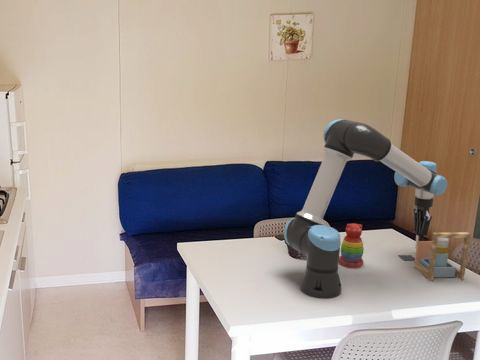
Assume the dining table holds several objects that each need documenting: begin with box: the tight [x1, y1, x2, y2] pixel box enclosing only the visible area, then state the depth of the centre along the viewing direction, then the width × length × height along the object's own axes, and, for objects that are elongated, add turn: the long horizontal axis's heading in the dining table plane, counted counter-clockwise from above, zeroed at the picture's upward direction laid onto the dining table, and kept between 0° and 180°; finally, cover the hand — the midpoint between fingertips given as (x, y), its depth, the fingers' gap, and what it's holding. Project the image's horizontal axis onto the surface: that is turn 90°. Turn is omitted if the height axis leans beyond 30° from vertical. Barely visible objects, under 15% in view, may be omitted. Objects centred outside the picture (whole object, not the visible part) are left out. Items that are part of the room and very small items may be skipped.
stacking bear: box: [338, 222, 365, 269], centre depth 229 cm, size 11×10×18 cm
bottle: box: [429, 238, 450, 267], centre depth 223 cm, size 7×7×15 cm
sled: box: [414, 240, 457, 278], centre depth 228 cm, size 10×18×9 cm, turn 8°
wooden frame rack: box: [413, 231, 472, 282], centre depth 222 cm, size 15×14×20 cm
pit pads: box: [398, 254, 415, 262], centre depth 241 cm, size 16×6×1 cm, turn 98°
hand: (418, 248), depth 241 cm, fingers closed
